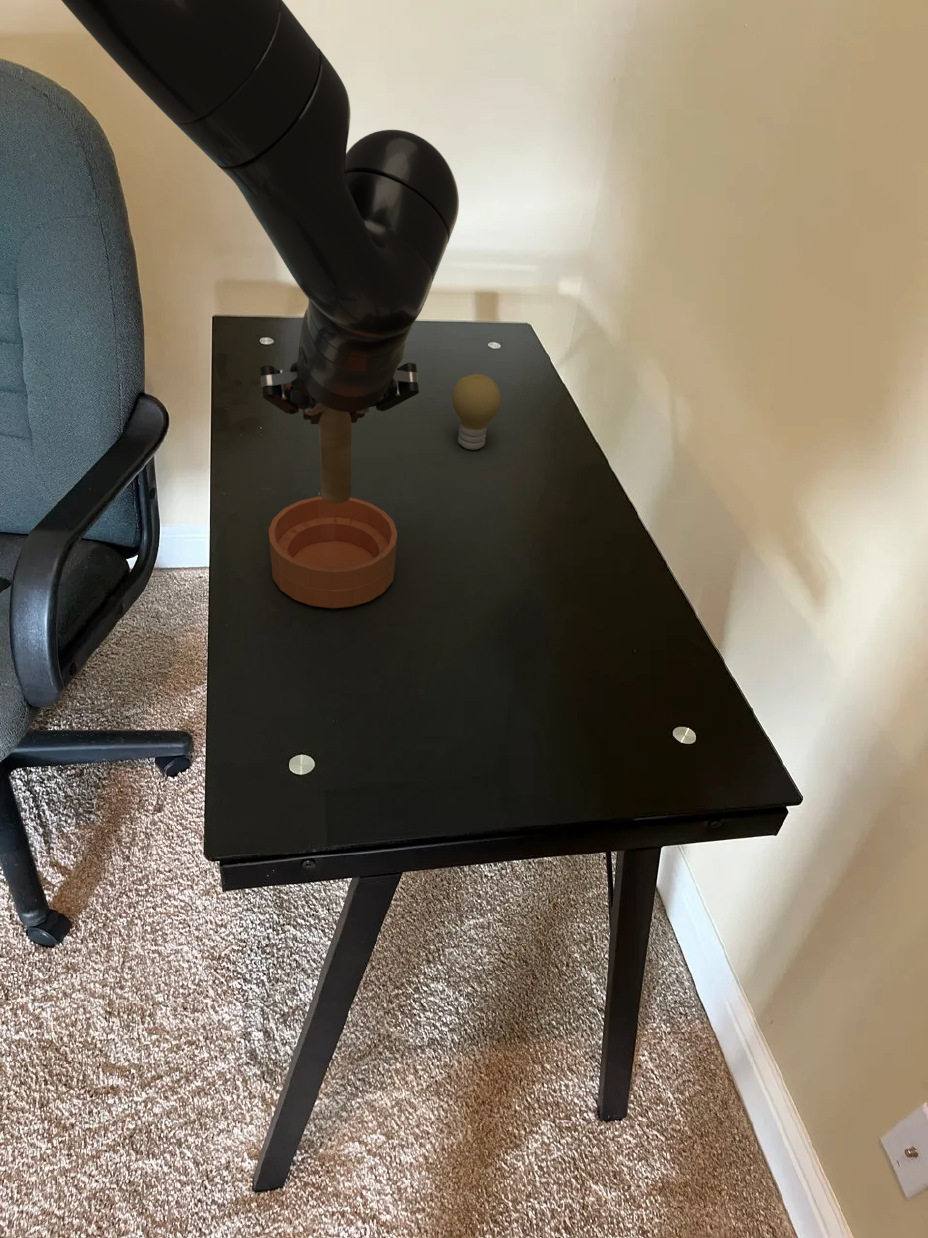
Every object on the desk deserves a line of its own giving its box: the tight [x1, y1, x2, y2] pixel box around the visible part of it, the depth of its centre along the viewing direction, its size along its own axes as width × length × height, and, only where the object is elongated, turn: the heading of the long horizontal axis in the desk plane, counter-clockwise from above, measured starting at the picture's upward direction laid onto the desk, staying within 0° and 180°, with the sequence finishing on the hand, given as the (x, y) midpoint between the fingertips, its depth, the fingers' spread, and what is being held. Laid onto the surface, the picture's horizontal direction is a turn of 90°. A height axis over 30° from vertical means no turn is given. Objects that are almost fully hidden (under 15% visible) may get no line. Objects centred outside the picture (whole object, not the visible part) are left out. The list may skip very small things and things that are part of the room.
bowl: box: [268, 495, 398, 609], centre depth 88 cm, size 13×13×6 cm
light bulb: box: [451, 373, 502, 451], centre depth 110 cm, size 6×6×10 cm
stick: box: [318, 408, 352, 504], centre depth 78 cm, size 3×3×12 cm
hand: (332, 413), depth 79 cm, fingers closed on stick, 3 cm apart
